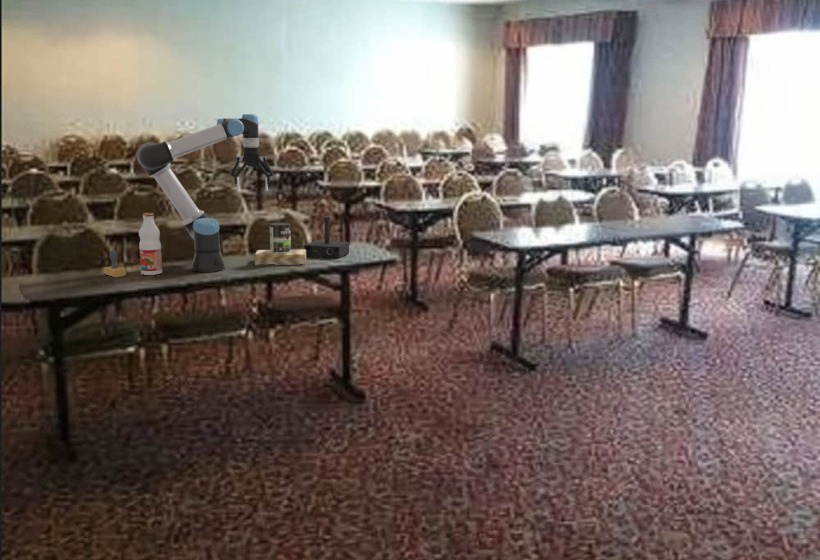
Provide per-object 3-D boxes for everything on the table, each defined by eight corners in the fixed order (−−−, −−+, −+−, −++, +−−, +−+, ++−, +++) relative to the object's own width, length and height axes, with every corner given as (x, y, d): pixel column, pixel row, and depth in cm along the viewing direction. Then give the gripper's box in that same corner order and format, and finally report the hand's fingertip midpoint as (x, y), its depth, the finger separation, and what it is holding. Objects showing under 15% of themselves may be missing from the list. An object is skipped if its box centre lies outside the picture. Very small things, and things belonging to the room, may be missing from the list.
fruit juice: (166, 274, 399) (162, 213, 393) (147, 277, 393) (143, 215, 387) (156, 271, 406) (152, 211, 400) (137, 274, 400) (133, 213, 394)
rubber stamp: (126, 276, 395) (124, 250, 392) (114, 278, 391) (112, 252, 388) (115, 273, 402) (113, 247, 399) (103, 275, 398) (101, 249, 395)
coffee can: (295, 251, 429) (295, 223, 426) (280, 254, 421) (279, 225, 418) (280, 249, 435) (280, 221, 432) (265, 252, 427) (264, 223, 424)
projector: (302, 257, 443) (301, 218, 439) (315, 252, 458) (314, 214, 454) (337, 259, 437) (337, 220, 433) (349, 254, 453) (349, 215, 449)
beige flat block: (255, 265, 421) (254, 255, 420) (257, 259, 435) (257, 250, 434) (305, 264, 423) (304, 254, 422) (306, 259, 437) (305, 249, 436)
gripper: (223, 147, 416) (225, 191, 420) (276, 147, 418) (278, 191, 422) (225, 146, 423) (227, 190, 428) (277, 146, 425) (279, 189, 430)
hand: (252, 190), depth 425 cm, fingers open, 13 cm apart
